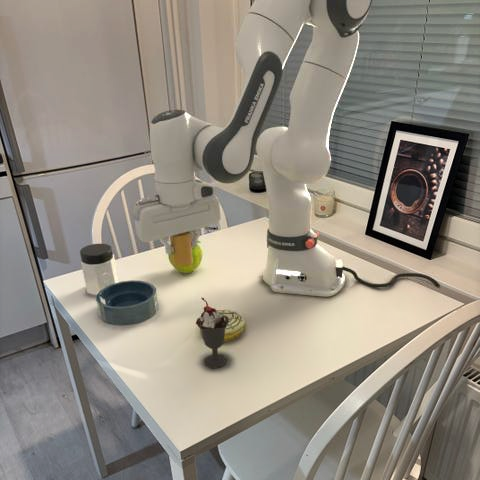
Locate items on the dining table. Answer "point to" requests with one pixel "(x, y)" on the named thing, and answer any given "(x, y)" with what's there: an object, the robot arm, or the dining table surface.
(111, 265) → the jar
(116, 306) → the bowl
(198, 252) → the fruit
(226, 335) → the decorated donut
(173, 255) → the candle
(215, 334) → the sundae
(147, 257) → the dining table surface
